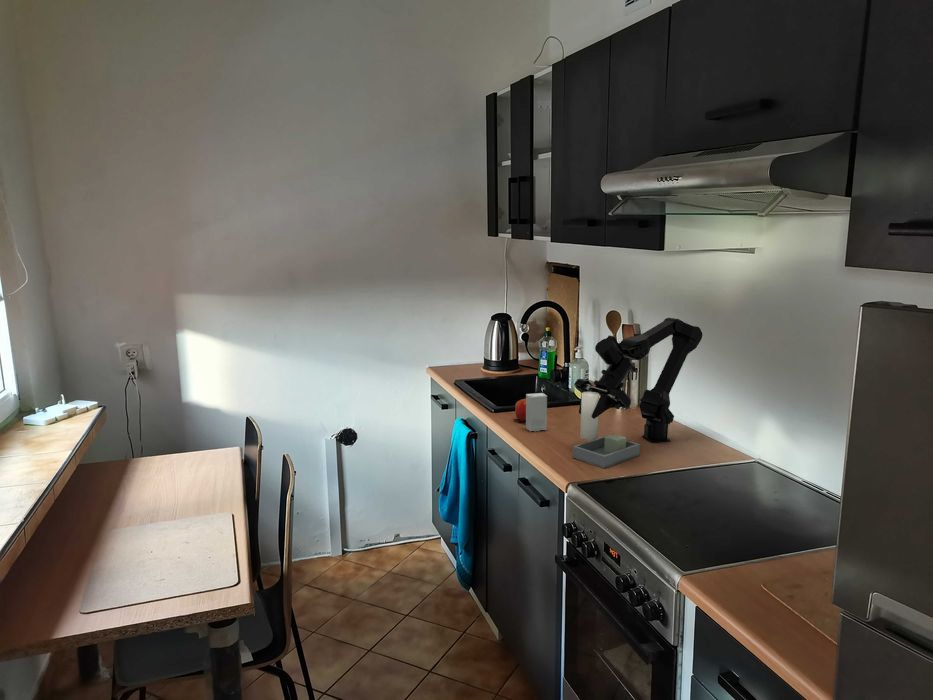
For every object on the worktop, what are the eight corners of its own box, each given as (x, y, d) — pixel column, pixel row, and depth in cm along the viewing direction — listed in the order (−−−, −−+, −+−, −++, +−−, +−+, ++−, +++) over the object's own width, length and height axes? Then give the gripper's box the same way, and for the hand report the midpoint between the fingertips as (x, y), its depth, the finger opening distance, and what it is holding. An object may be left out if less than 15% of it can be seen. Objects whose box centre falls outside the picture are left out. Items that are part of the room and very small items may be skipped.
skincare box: (542, 427, 230) (543, 392, 228) (547, 431, 226) (547, 395, 223) (524, 428, 228) (525, 393, 226) (529, 432, 224) (530, 396, 222)
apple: (535, 425, 232) (536, 403, 230) (511, 423, 234) (511, 400, 233) (540, 419, 239) (540, 397, 238) (517, 417, 242) (517, 395, 240)
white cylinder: (588, 433, 204) (590, 390, 202) (601, 437, 200) (602, 394, 198) (576, 436, 202) (578, 393, 199) (588, 440, 198) (590, 396, 195)
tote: (607, 445, 211) (608, 435, 210) (639, 455, 202) (640, 444, 202) (572, 457, 200) (572, 446, 200) (604, 468, 192) (604, 456, 191)
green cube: (604, 451, 204) (604, 437, 203) (613, 448, 207) (614, 434, 206) (616, 455, 201) (617, 440, 200) (625, 452, 204) (626, 437, 203)
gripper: (651, 396, 199) (623, 439, 195) (605, 384, 215) (578, 423, 211) (634, 373, 194) (604, 417, 190) (588, 362, 209) (559, 402, 205)
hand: (586, 415), depth 199 cm, fingers closed on white cylinder, 5 cm apart
